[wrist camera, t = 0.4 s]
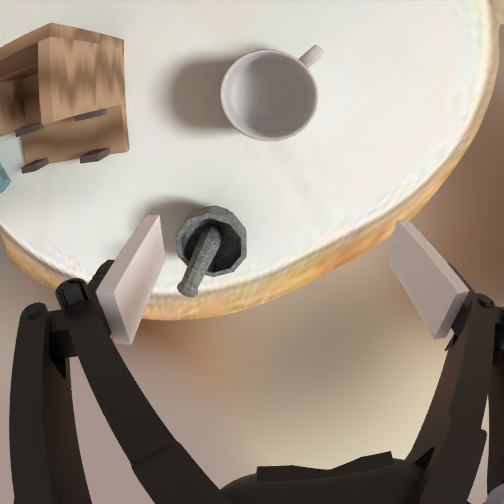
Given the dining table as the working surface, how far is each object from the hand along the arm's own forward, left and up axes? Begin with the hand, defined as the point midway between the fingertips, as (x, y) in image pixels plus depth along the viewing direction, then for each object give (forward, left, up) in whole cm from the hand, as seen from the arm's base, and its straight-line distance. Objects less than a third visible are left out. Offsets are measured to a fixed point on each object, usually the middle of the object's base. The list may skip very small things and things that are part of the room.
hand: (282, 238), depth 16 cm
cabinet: (-9, -29, -28) cm, 41 cm away
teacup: (-8, +2, -28) cm, 29 cm away
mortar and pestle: (+13, -7, -28) cm, 32 cm away
